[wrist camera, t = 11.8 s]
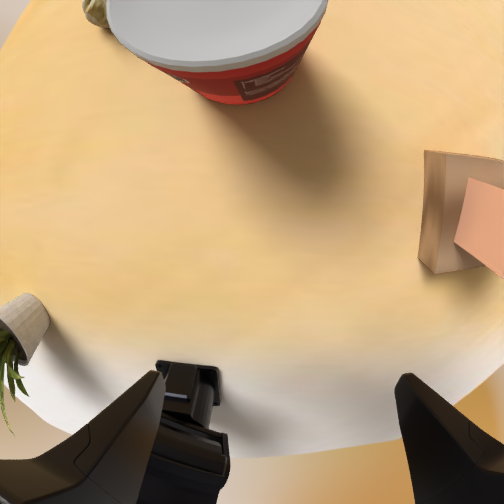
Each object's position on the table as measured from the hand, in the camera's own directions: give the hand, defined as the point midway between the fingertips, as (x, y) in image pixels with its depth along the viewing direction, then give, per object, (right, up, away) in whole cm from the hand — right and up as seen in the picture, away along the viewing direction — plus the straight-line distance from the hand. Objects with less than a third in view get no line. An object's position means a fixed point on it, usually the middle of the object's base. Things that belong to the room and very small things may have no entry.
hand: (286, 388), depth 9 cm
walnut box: (+17, +9, +10) cm, 22 cm away
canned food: (-2, +18, +7) cm, 20 cm away
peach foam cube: (+17, +8, +7) cm, 19 cm away
